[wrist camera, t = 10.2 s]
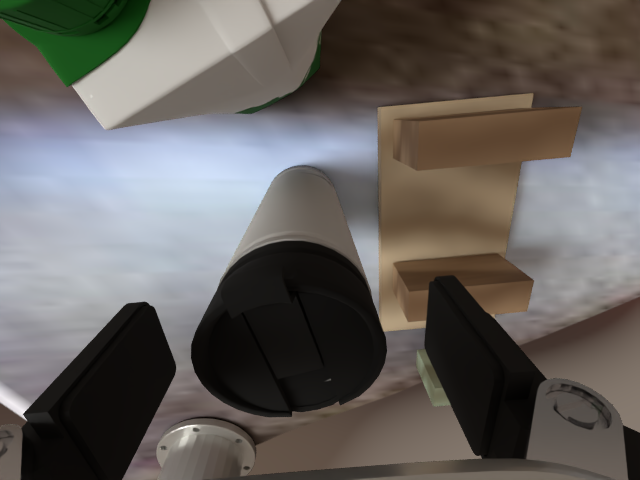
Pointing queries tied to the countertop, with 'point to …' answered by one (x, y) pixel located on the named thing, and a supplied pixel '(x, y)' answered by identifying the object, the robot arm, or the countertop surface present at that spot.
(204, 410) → the countertop surface
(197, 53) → the milk carton
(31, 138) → the countertop surface
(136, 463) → the countertop surface
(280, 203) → the travel mug
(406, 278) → the sliding jaw
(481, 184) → the base
